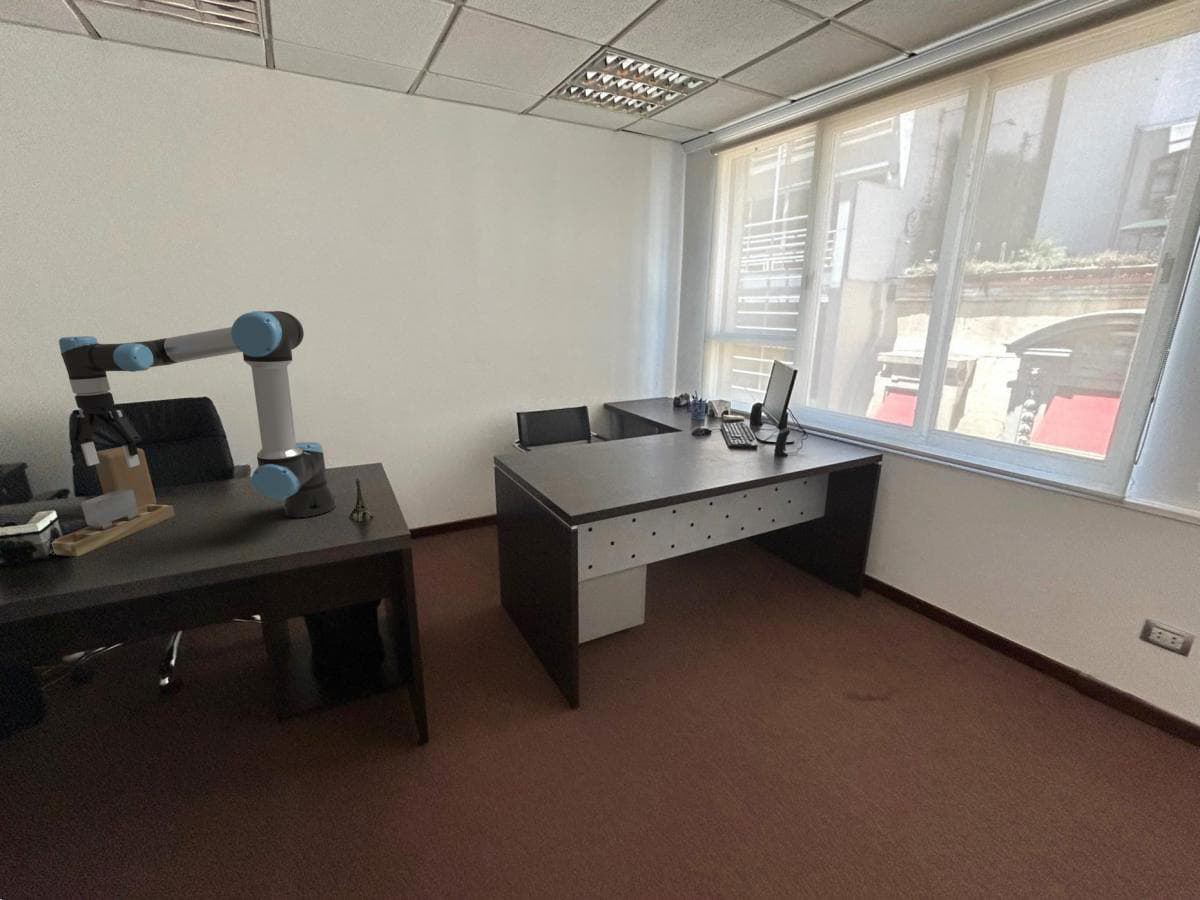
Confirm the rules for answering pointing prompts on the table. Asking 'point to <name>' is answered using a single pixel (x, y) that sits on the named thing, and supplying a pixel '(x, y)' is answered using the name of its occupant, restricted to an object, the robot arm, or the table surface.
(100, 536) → the rail
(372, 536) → the table surface
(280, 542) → the table surface
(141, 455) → the wooden block
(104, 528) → the grey concrete brick
